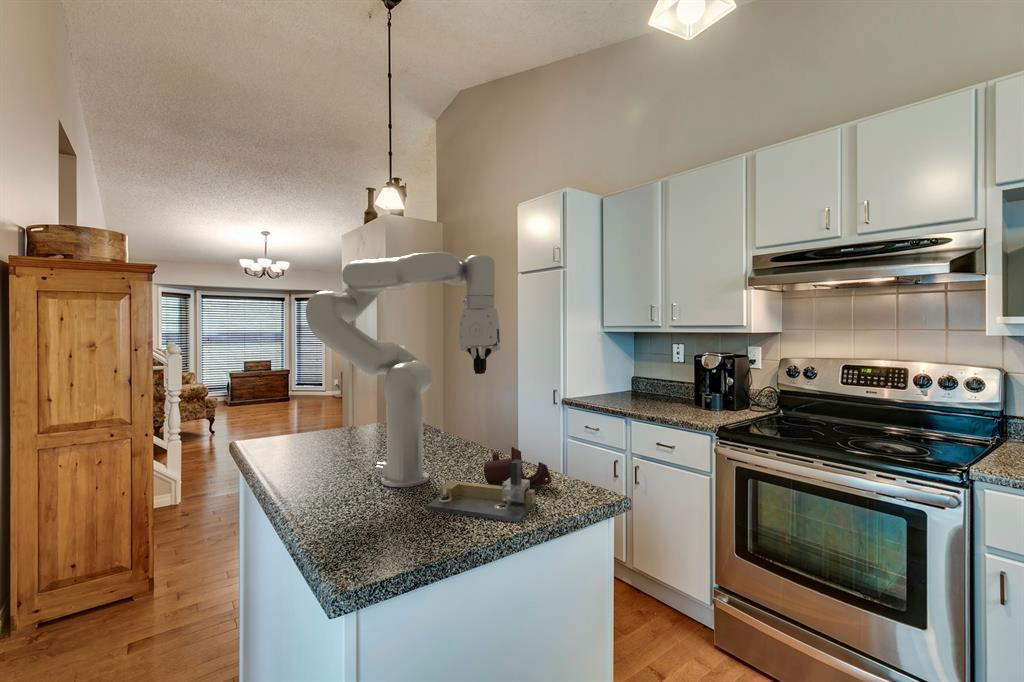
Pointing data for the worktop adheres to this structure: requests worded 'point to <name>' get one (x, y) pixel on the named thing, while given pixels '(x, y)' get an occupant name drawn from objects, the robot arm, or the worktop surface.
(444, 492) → the beam
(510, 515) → the hole plate
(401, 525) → the worktop surface
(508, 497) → the slider
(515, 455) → the bracket
